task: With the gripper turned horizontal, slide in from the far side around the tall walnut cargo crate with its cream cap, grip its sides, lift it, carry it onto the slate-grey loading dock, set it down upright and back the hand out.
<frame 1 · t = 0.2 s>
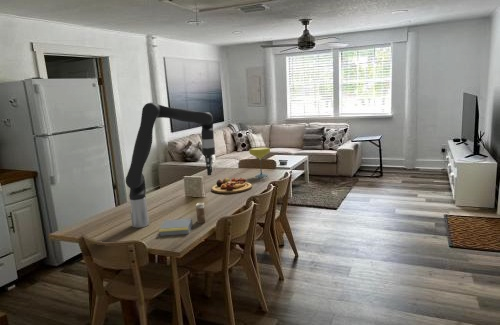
hand: (209, 173, 224), 29 cm above the table, tool pointing down, fingers open, 8 cm apart
cocktail glass: (261, 176, 335), on the table
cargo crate: (201, 221, 228), on the table
wooden plate with food: (232, 189, 300), on the table
dock: (176, 230, 217), on the table
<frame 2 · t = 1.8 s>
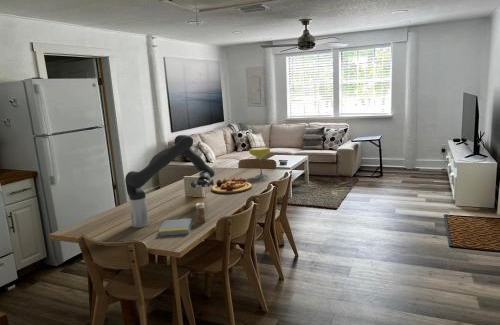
hand: (201, 186, 236), 19 cm above the table, tool horizontal, fingers open, 8 cm apart
nothing on the table moved.
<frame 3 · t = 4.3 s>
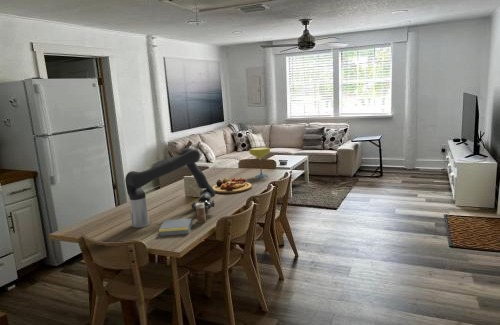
hand: (201, 208, 233), 6 cm above the table, tool horizontal, fingers open, 8 cm apart
nothing on the table moved.
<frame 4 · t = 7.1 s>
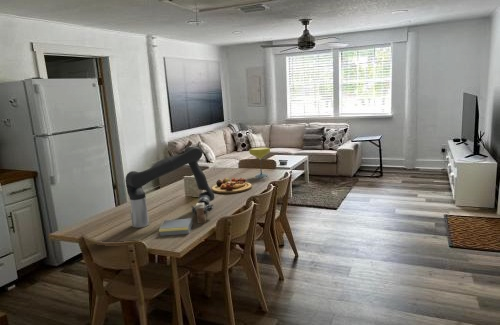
hand: (200, 212, 224), 7 cm above the table, tool horizontal, fingers closed on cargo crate, 4 cm apart
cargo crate: (201, 221, 228), on the table, touching gripper
everything else where it was.
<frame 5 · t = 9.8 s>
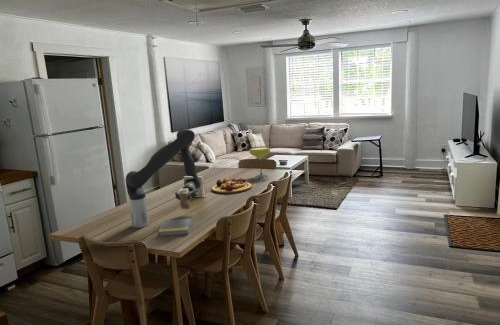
hand: (183, 198, 216), 18 cm above the table, tool horizontal, fingers closed on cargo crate, 4 cm apart
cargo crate: (185, 207, 220), point 11 cm above the table, touching gripper
everything else where it was.
when the fingers open (12 cm above the table, at t = 12.7 s): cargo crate drops 1 cm, resting on dock.
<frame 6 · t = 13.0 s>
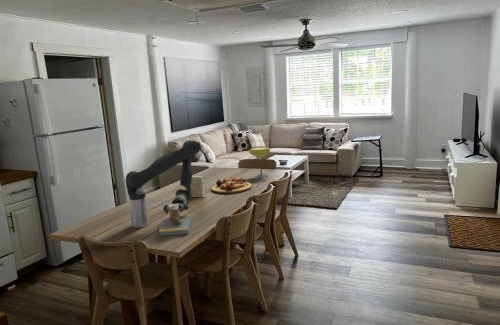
hand: (173, 211, 212), 12 cm above the table, tool horizontal, fingers open, 7 cm apart
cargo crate: (175, 223, 216), point 4 cm above the table, touching dock
everything else where it was.
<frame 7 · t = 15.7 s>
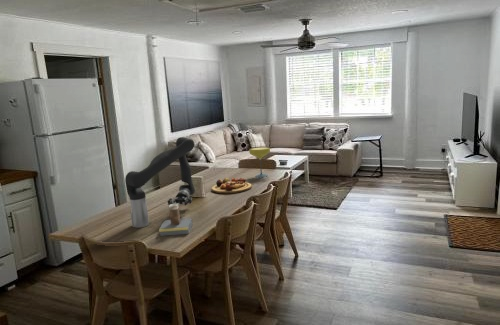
hand: (177, 204, 225), 12 cm above the table, tool horizontal, fingers open, 8 cm apart
nothing on the table moved.
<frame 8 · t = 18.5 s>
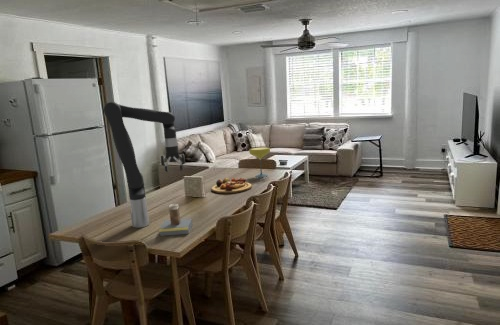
hand: (174, 171, 232), 30 cm above the table, tool pointing down, fingers open, 8 cm apart
nothing on the table moved.
at the end: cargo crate inside the target area on the dock (0.1 cm from its centre), point 4.0 cm above the dock's base; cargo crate tilted 0°; the gripper is holding nothing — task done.
